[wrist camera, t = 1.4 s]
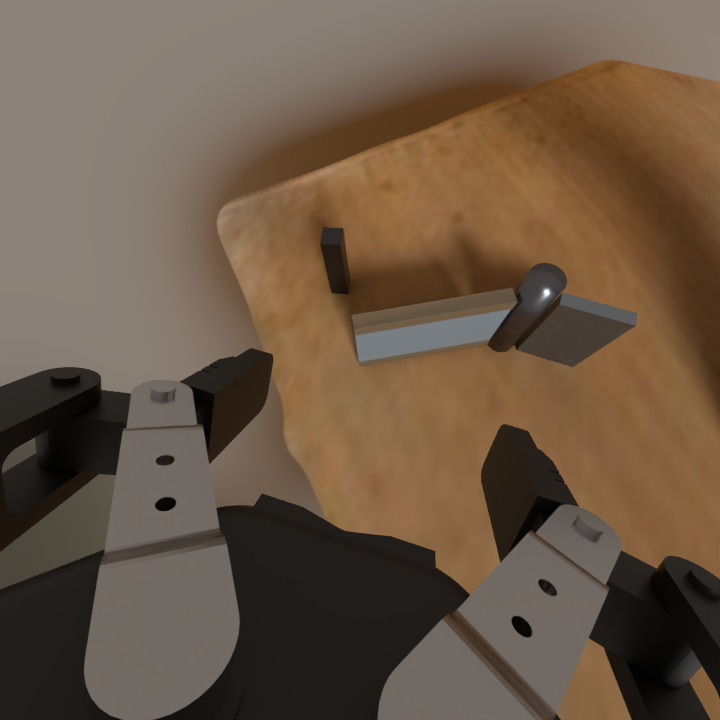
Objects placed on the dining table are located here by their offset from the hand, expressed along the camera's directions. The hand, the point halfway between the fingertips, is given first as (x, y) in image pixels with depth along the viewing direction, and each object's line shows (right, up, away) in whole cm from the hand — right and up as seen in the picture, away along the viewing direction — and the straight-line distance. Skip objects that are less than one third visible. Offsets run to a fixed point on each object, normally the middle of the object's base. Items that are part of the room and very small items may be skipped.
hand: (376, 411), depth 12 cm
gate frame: (+9, +6, +29) cm, 31 cm away
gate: (+6, +3, +27) cm, 27 cm away
